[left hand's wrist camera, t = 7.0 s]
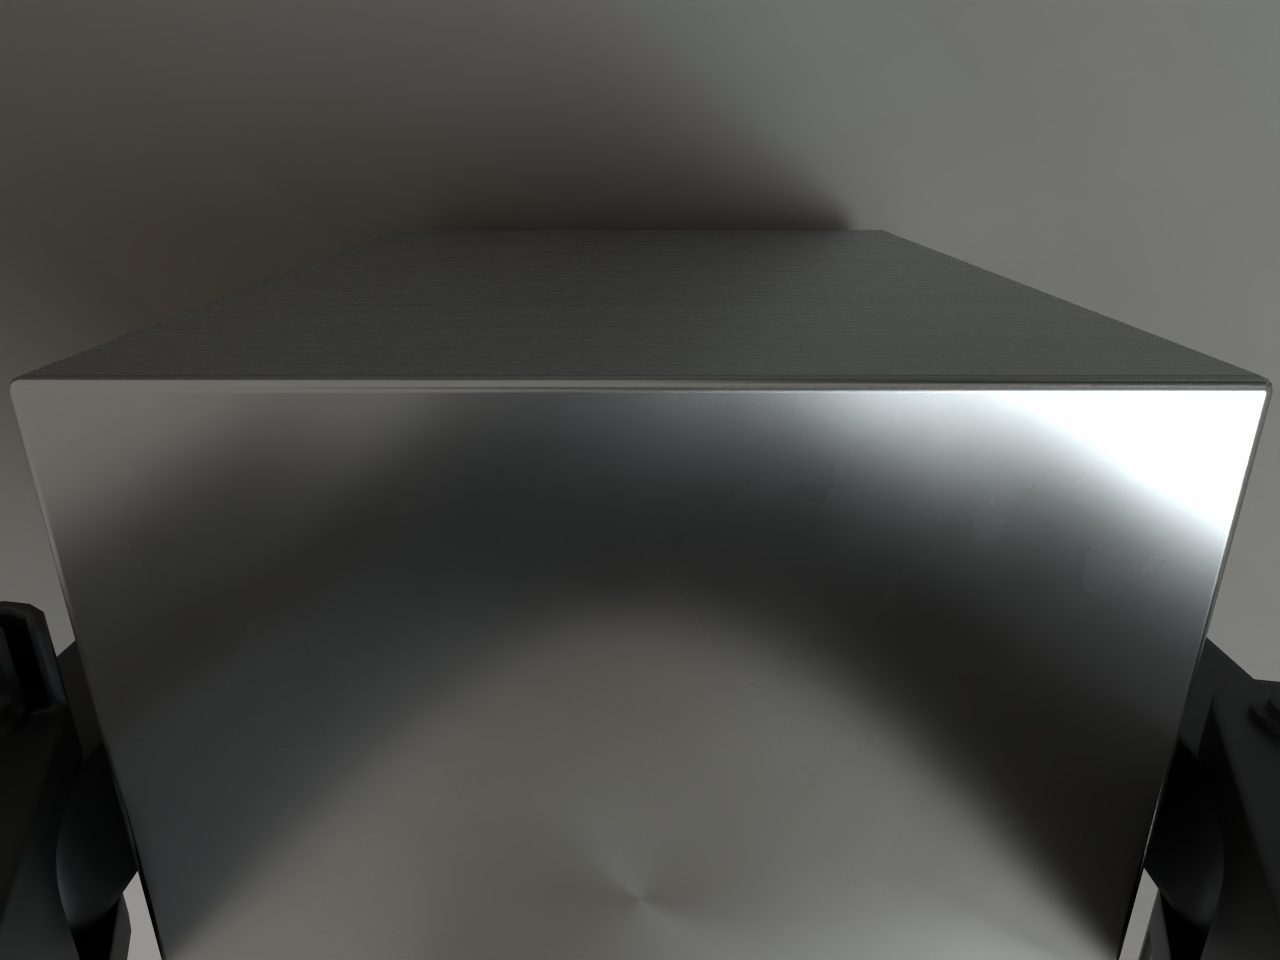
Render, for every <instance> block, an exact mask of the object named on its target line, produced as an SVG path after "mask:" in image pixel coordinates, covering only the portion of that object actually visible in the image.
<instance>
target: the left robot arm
mask: <svg viewBox="0 0 1280 960" xmlns="http://www.w3.org/2000/svg"><path fill="white" fill-rule="evenodd" d="M1144 868H1145V870H1146V871H1147V873H1148V874H1149V875H1150V877H1151V878H1152V880H1153V881H1154V883H1155V884H1156V886H1157V887H1158V892H1157V895H1156V899H1155V902H1154V906H1153V910H1152V913H1151V917H1150V920H1149V924H1148V927H1147V931H1146V934H1145V938H1144V942H1143V945H1142V949H1141V952H1140V956H1139V959H1138V960H1280V682H1276V681H1266V680H1256V679H1253V678H1252V677H1251V676H1250V675H1249V674H1248V673H1246V672H1245V671H1244V670H1243V669H1242V668H1241V667H1240V666H1238V665H1237V664H1236V663H1235V662H1234V661H1233V660H1232V659H1231V658H1229V657H1228V656H1227V655H1226V654H1225V653H1224V652H1223V651H1221V650H1220V649H1219V648H1218V647H1217V646H1216V645H1215V644H1214V643H1212V642H1211V641H1210V640H1209V639H1208V638H1207V637H1206V640H1205V643H1204V647H1203V651H1202V654H1201V658H1200V662H1199V666H1198V669H1197V673H1196V677H1195V680H1194V684H1193V688H1192V691H1191V695H1190V699H1189V703H1188V706H1187V710H1186V714H1185V717H1184V721H1183V725H1182V728H1181V732H1180V736H1179V739H1178V743H1177V747H1176V751H1175V754H1174V758H1173V762H1172V765H1171V769H1170V773H1169V776H1168V780H1167V784H1166V788H1165V791H1164V795H1163V799H1162V802H1161V806H1160V810H1159V813H1158V817H1157V821H1156V824H1155V828H1154V832H1153V836H1152V839H1151V843H1150V847H1149V850H1148V854H1147V858H1146V861H1145V865H1144ZM137 871H138V869H137V866H136V862H135V858H134V855H133V851H132V847H131V844H130V840H129V836H128V832H127V829H126V825H125V821H124V818H123V814H122V810H121V807H120V803H119V799H118V795H117V792H116V788H115V784H114V781H113V777H112V773H111V770H110V766H109V762H108V758H107V755H106V751H105V747H104V744H103V740H102V736H101V733H100V729H99V725H98V721H97V718H96V714H95V710H94V707H93V703H92V699H91V695H90V692H89V688H88V684H87V681H86V677H85V673H84V670H83V666H82V662H81V658H80V655H79V651H78V647H77V644H76V640H75V641H74V642H73V643H72V644H71V645H70V646H69V647H67V648H66V649H65V650H64V651H63V652H62V653H61V654H60V655H58V656H57V657H56V654H55V650H54V647H53V643H52V640H51V636H50V633H49V629H48V625H47V622H46V618H45V615H44V612H43V611H41V610H39V609H38V608H36V607H34V606H32V605H31V604H26V603H17V602H8V601H1V602H0V960H127V956H128V949H129V943H130V936H131V926H130V920H129V913H128V910H127V906H126V902H125V899H124V895H123V891H124V890H125V889H126V887H127V885H128V884H129V883H130V881H131V880H132V878H133V877H134V875H135V874H136V872H137Z"/></svg>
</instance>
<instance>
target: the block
mask: <svg viewBox="0 0 1280 960" xmlns="http://www.w3.org/2000/svg"><path fill="white" fill-rule="evenodd" d="M9 396H10V399H11V403H12V407H13V411H14V414H15V418H16V422H17V425H18V429H19V433H20V436H21V440H22V444H23V448H24V451H25V455H26V459H27V462H28V466H29V470H30V473H31V477H32V481H33V485H34V488H35V492H36V496H37V499H38V503H39V507H40V510H41V514H42V518H43V522H44V525H45V529H46V533H47V536H48V540H49V544H50V547H51V551H52V555H53V559H54V562H55V566H56V570H57V573H58V577H59V581H60V584H61V588H62V592H63V596H64V599H65V603H66V607H67V610H68V614H69V618H70V621H71V625H72V629H73V633H74V636H75V640H76V644H77V647H78V651H79V655H80V658H81V662H82V666H83V670H84V673H85V677H86V681H87V684H88V688H89V692H90V695H91V699H92V703H93V707H94V710H95V714H96V718H97V721H98V725H99V729H100V733H101V736H102V740H103V744H104V747H105V751H106V755H107V758H108V762H109V766H110V770H111V773H112V777H113V781H114V784H115V788H116V792H117V795H118V799H119V803H120V807H121V810H122V814H123V818H124V821H125V825H126V829H127V832H128V836H129V840H130V844H131V847H132V851H133V855H134V858H135V862H136V866H137V869H138V873H139V876H140V881H141V884H142V888H143V892H144V895H145V899H146V903H147V906H148V910H149V914H150V918H151V921H152V925H153V929H154V932H155V936H156V940H157V943H158V947H159V951H160V955H161V958H162V960H1119V957H1120V954H1121V950H1122V946H1123V943H1124V939H1125V935H1126V932H1127V928H1128V924H1129V921H1130V917H1131V913H1132V909H1133V906H1134V902H1135V898H1136V895H1137V891H1138V887H1139V884H1140V880H1141V876H1142V872H1143V869H1144V865H1145V861H1146V858H1147V854H1148V850H1149V847H1150V843H1151V839H1152V836H1153V832H1154V828H1155V824H1156V821H1157V817H1158V813H1159V810H1160V806H1161V802H1162V799H1163V795H1164V791H1165V788H1166V784H1167V780H1168V776H1169V773H1170V769H1171V765H1172V762H1173V758H1174V754H1175V751H1176V747H1177V743H1178V739H1179V736H1180V732H1181V728H1182V725H1183V721H1184V717H1185V714H1186V710H1187V706H1188V703H1189V699H1190V695H1191V691H1192V688H1193V684H1194V680H1195V677H1196V673H1197V669H1198V666H1199V662H1200V658H1201V654H1202V651H1203V647H1204V643H1205V640H1206V636H1207V632H1208V629H1209V625H1210V621H1211V618H1212V614H1213V610H1214V606H1215V603H1216V599H1217V595H1218V592H1219V588H1220V584H1221V581H1222V577H1223V573H1224V569H1225V566H1226V562H1227V558H1228V555H1229V551H1230V547H1231V544H1232V540H1233V536H1234V533H1235V529H1236V525H1237V521H1238V518H1239V514H1240V510H1241V507H1242V503H1243V499H1244V496H1245V492H1246V488H1247V484H1248V481H1249V477H1250V473H1251V470H1252V466H1253V462H1254V459H1255V455H1256V451H1257V448H1258V444H1259V440H1260V436H1261V433H1262V429H1263V425H1264V422H1265V418H1266V414H1267V411H1268V407H1269V403H1270V400H1271V396H1272V383H1271V382H1270V381H1269V380H1268V379H1267V378H1264V377H1262V376H1260V375H1257V374H1255V373H1252V372H1250V371H1247V370H1244V369H1242V368H1239V367H1237V366H1234V365H1231V364H1229V363H1226V362H1224V361H1221V360H1218V359H1216V358H1213V357H1211V356H1208V355H1205V354H1203V353H1200V352H1198V351H1195V350H1192V349H1190V348H1187V347H1185V346H1182V345H1179V344H1177V343H1174V342H1172V341H1169V340H1166V339H1164V338H1161V337H1159V336H1156V335H1153V334H1151V333H1148V332H1146V331H1143V330H1140V329H1138V328H1135V327H1133V326H1130V325H1127V324H1125V323H1122V322H1120V321H1117V320H1114V319H1112V318H1109V317H1107V316H1104V315H1101V314H1099V313H1096V312H1094V311H1091V310H1088V309H1086V308H1083V307H1081V306H1078V305H1075V304H1073V303H1070V302H1068V301H1065V300H1062V299H1060V298H1057V297H1055V296H1052V295H1049V294H1047V293H1044V292H1042V291H1039V290H1036V289H1034V288H1031V287H1029V286H1026V285H1023V284H1021V283H1018V282H1016V281H1013V280H1010V279H1008V278H1005V277H1003V276H1000V275H997V274H995V273H992V272H990V271H987V270H984V269H982V268H979V267H977V266H974V265H971V264H969V263H966V262H964V261H961V260H958V259H956V258H953V257H951V256H948V255H945V254H943V253H940V252H938V251H935V250H932V249H930V248H927V247H925V246H922V245H919V244H917V243H914V242H911V241H909V240H906V239H904V238H901V237H898V236H896V235H893V234H891V233H888V232H885V231H883V230H398V231H395V232H392V233H390V234H387V235H385V236H382V237H379V238H377V239H374V240H372V241H369V242H366V243H364V244H361V245H359V246H356V247H353V248H351V249H348V250H346V251H343V252H340V253H338V254H335V255H333V256H330V257H327V258H325V259H322V260H320V261H317V262H314V263H312V264H309V265H307V266H304V267H301V268H299V269H296V270H294V271H291V272H288V273H286V274H283V275H281V276H278V277H275V278H273V279H270V280H268V281H265V282H263V283H260V284H257V285H255V286H252V287H250V288H247V289H244V290H242V291H239V292H237V293H234V294H231V295H229V296H226V297H224V298H221V299H218V300H216V301H213V302H211V303H208V304H205V305H203V306H200V307H198V308H195V309H192V310H190V311H187V312H185V313H182V314H179V315H177V316H174V317H172V318H169V319H166V320H164V321H161V322H159V323H156V324H153V325H151V326H148V327H146V328H143V329H140V330H138V331H135V332H133V333H130V334H127V335H125V336H122V337H120V338H117V339H114V340H112V341H109V342H107V343H104V344H101V345H99V346H96V347H94V348H91V349H88V350H86V351H83V352H81V353H78V354H75V355H73V356H70V357H68V358H65V359H62V360H60V361H57V362H55V363H52V364H49V365H47V366H44V367H42V368H39V369H36V370H34V371H31V372H29V373H26V374H23V375H21V376H19V377H17V378H14V379H13V380H12V381H11V382H10V383H9Z"/></svg>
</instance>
